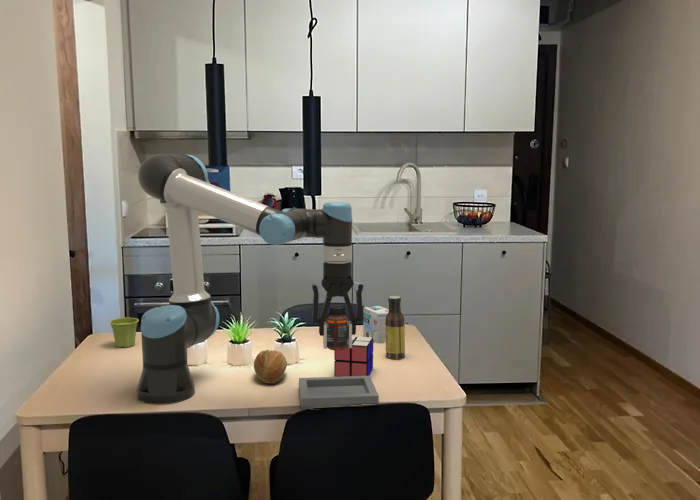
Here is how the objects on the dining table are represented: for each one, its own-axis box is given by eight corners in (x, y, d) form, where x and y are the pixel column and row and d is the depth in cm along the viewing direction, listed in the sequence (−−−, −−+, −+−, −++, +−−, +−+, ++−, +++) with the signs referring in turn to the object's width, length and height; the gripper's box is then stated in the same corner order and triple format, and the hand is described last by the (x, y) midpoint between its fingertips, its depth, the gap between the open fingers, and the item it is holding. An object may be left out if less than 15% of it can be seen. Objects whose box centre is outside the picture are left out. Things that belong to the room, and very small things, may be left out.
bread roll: (252, 387, 189) (252, 359, 188) (255, 370, 204) (254, 344, 203) (287, 386, 190) (286, 359, 189) (286, 369, 205) (286, 344, 204)
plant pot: (105, 345, 228) (104, 320, 227) (130, 340, 235) (129, 316, 234) (119, 351, 222) (118, 325, 221) (145, 345, 229) (144, 320, 228)
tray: (301, 409, 172) (301, 398, 172) (298, 388, 188) (298, 377, 188) (378, 406, 175) (378, 395, 174) (369, 385, 190) (369, 375, 190)
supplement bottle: (353, 347, 180) (353, 306, 179) (340, 352, 175) (340, 310, 174) (334, 343, 183) (334, 303, 182) (321, 348, 179) (321, 307, 177)
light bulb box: (362, 336, 242) (362, 307, 240) (378, 334, 245) (378, 305, 243) (377, 343, 233) (377, 313, 231) (394, 341, 236) (394, 311, 234)
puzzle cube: (367, 379, 196) (367, 346, 195) (334, 377, 198) (334, 344, 197) (373, 368, 206) (373, 337, 204) (341, 366, 208) (341, 335, 206)
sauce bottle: (399, 353, 221) (400, 294, 219) (408, 358, 216) (409, 297, 213) (381, 355, 219) (382, 295, 216) (390, 361, 213) (391, 299, 210)
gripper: (301, 264, 171) (302, 352, 175) (375, 262, 173) (374, 349, 177) (300, 259, 179) (301, 343, 182) (371, 258, 181) (370, 341, 184)
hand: (337, 346), depth 179 cm, fingers closed on supplement bottle, 6 cm apart
